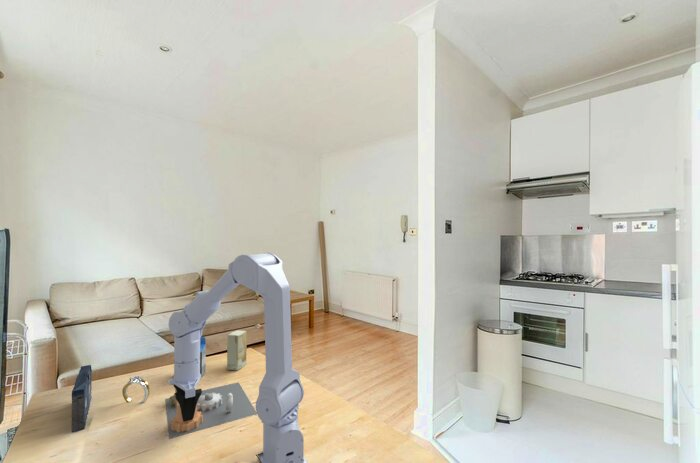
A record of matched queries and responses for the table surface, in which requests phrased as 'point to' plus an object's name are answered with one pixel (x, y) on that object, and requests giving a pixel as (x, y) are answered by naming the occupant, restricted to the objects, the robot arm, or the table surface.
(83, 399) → the vhs cassette tape
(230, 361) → the skincare box
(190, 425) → the planet gear
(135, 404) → the table surface
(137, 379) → the ring
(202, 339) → the label tape box
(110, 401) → the table surface
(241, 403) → the carrier board
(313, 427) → the table surface
